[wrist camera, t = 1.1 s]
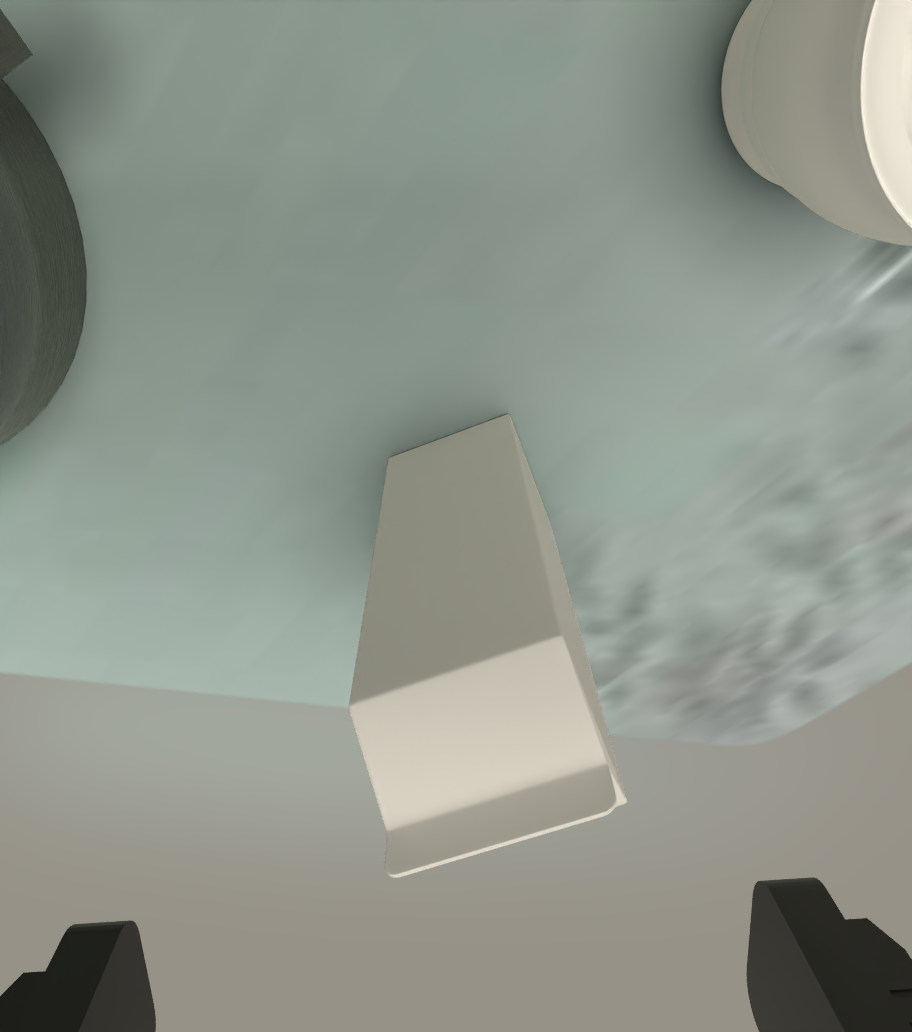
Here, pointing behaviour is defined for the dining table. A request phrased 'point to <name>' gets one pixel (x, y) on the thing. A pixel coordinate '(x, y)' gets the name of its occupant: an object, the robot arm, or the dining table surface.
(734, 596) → the dining table surface
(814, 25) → the jar
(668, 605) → the dining table surface
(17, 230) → the cooker pot
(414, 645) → the milk
